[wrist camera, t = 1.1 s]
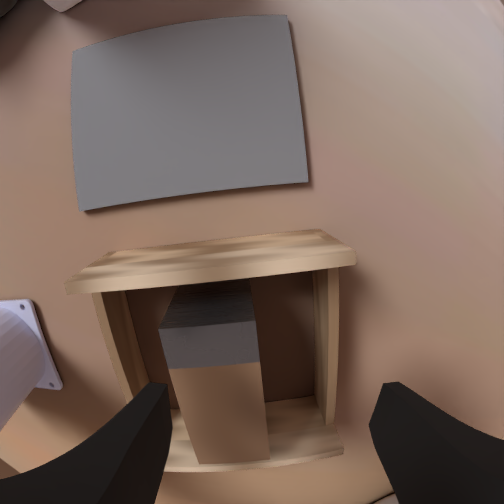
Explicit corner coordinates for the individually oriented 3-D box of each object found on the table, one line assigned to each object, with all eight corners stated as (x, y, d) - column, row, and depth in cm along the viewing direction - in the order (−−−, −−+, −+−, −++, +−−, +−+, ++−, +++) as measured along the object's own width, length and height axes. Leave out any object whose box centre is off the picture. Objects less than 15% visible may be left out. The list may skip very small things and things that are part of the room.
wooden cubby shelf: (153, 414, 21) (138, 469, 16) (108, 252, 18) (63, 282, 12) (321, 399, 22) (343, 454, 16) (319, 228, 19) (355, 251, 13)
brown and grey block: (205, 392, 21) (199, 464, 14) (182, 277, 19) (158, 329, 12) (260, 388, 21) (270, 459, 14) (247, 270, 19) (255, 320, 12)
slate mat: (82, 210, 18) (79, 211, 17) (75, 53, 15) (72, 51, 15) (306, 181, 18) (308, 181, 18) (285, 18, 16) (287, 14, 15)
